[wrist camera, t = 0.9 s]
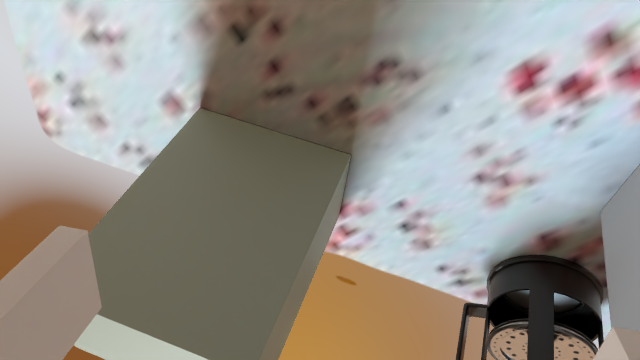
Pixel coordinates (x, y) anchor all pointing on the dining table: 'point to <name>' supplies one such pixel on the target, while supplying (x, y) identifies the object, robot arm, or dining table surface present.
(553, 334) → the french press
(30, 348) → the robot arm
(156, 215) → the sage green block
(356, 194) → the dining table surface
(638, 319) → the stand
